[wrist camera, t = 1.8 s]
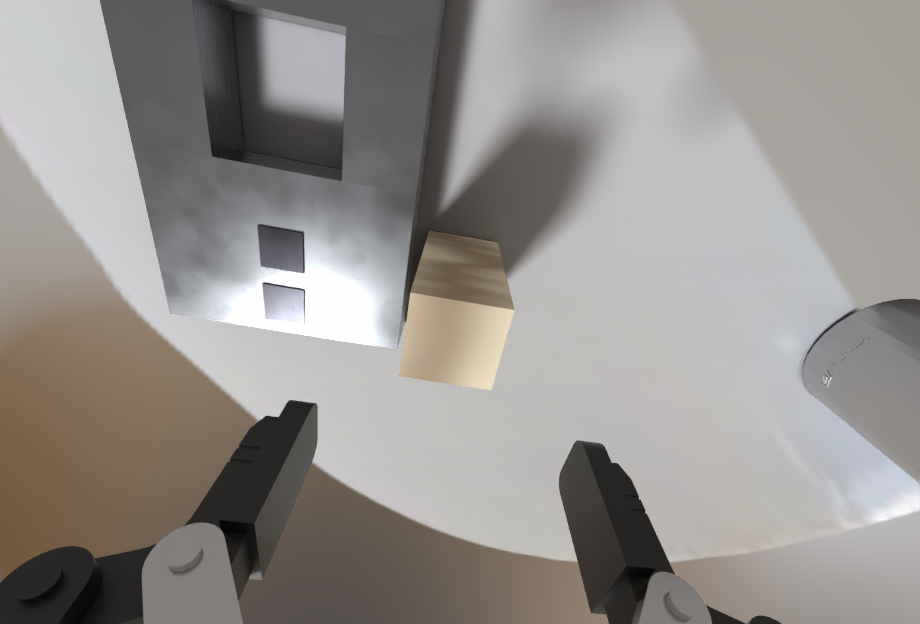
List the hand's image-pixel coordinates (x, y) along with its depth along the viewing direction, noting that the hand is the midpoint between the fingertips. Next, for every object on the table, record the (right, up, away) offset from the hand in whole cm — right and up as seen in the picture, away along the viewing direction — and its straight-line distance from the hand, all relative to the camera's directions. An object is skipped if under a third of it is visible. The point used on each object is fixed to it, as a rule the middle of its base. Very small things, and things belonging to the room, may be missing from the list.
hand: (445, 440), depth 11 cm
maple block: (0, +7, +13) cm, 15 cm away
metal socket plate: (-9, +13, +10) cm, 18 cm away
